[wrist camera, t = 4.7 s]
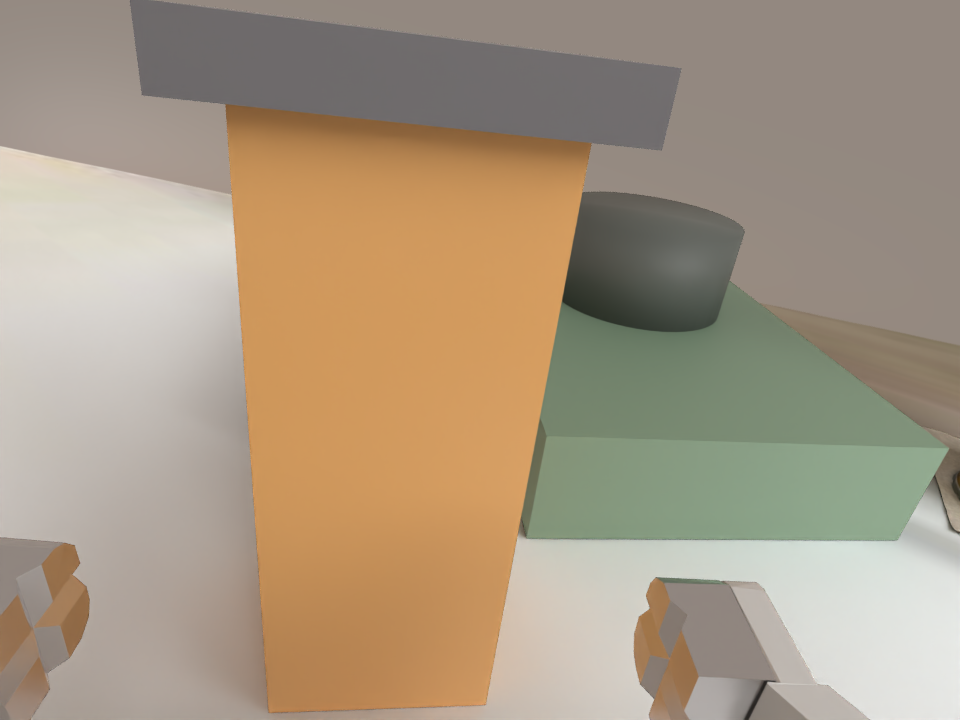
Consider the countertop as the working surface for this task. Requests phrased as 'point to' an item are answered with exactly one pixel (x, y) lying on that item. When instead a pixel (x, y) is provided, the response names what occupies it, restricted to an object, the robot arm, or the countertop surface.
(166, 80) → the gray-capped orange pillar
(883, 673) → the countertop surface
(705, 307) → the green base with knob
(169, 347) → the countertop surface
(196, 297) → the countertop surface
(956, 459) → the condiment
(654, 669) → the robot arm
